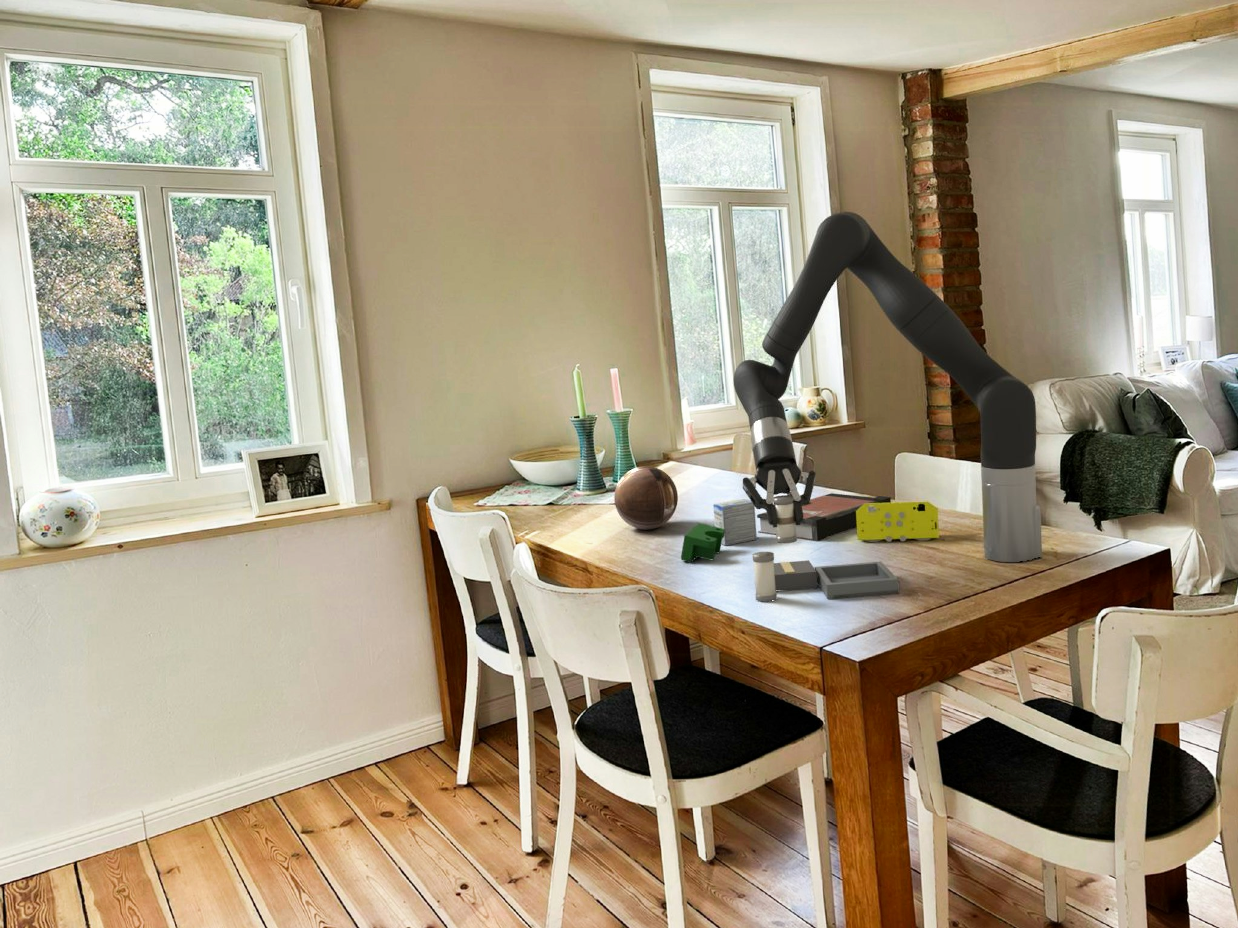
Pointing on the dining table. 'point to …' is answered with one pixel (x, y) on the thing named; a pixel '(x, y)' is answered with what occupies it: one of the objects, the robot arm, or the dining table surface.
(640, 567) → the dining table surface
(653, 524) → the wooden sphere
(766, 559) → the fuse
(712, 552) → the clamp
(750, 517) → the medicine box
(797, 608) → the dining table surface
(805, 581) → the block
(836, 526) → the book
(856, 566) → the parts tray
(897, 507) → the yellow toy chassis
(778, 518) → the ball
